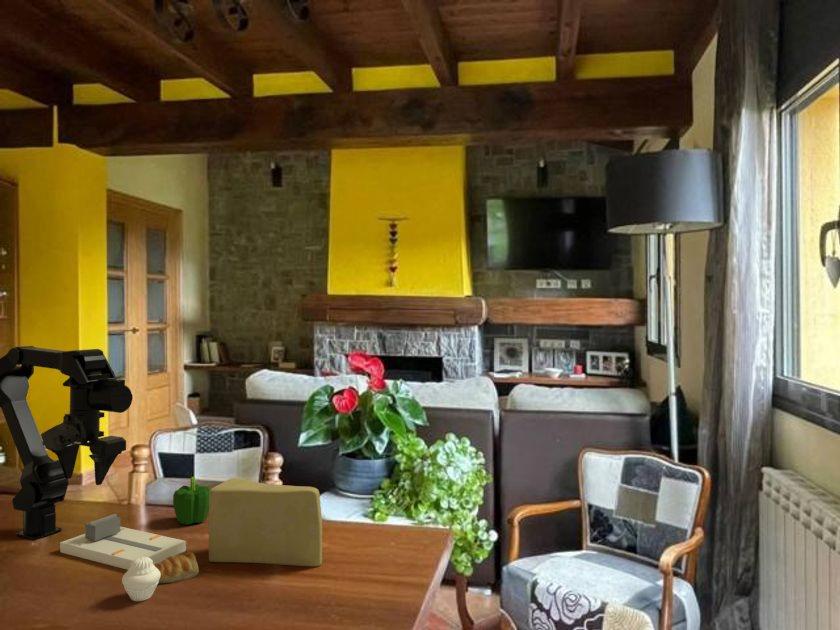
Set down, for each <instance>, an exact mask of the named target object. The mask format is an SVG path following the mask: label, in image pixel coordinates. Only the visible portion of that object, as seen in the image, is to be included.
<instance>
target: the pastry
mask: <svg viewBox="0 0 840 630" xmlns="http://www.w3.org/2000/svg"><path fill="white" fill-rule="evenodd" d="M196 558H197V557H196V555H195V554H194V553H193V552H189V551H188V552H187V551H186V553H185V554H177V555H175V556H170V557H168V558H167V559H165V560H163V561H162V562H160V563H156V564H154V566H155V567H156V568H157V569H158V570H159V571H160V573H161V577H160V579H159V583H158V584H171V583H175V582H179V581H184V580H189V579H192V578H195V577H197V576H198V574H199V571H200V570H199V565H198V562H197V559H196Z"/></svg>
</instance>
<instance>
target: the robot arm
mask: <svg viewBox="0 0 840 630" xmlns="http://www.w3.org/2000/svg"><path fill="white" fill-rule="evenodd" d="M35 367H37V368H38V367H39V368H45V369H53V370H58V371H59V373H61V374H62V375H64V376H67V377H68V379H66V380H65V381H64V382H62V386H63V387H67V388H69V412H68V413H64V416H62V417H63V418H62V419H63V421H62V422H61V423H59V424H56V425H54V426H53V427H51V428H49V429H48V430H45V431H43V432H42V433H41V434H40V432H39V429H38V427H37V423H36V421H35V419H34V416H33V414H32V411H31V409H30V406H29V404H28V401H27V396H28V393H29V389H30V384H29V380H30V378H31V377H32V376H33V375H34V373H35ZM132 403H133V393H132V390H131V389H130V387H128V386H127V385H126V380H125V379H123V378H121V379H120V378H118V379H117V376H116V374H115V372H114V370H113V368H112V367H111V364H110V362H109V361H108V359H107V357H106V356H105V354H104V351H103V350H102V349H100V348H92V349H90V348H89V349H77V350H76V349H75V350H61V349H59V350H58V349H52V348H43V347H35V346H34V345H25V346H23V345H22V346H15V347H12V348H10V349H9V350H8V352H7V353H6V354H5V355H3V356H2V357H0V409H1V411H2V414H3V415H4V416H3V417H4V419H5V421H6V423H7V424H6V425H7V427H8V429H9V432H10V435H11V436H12V437H11V438H12V440H13V442H14V444H15V447H16V451H17V453H18V455H19V458H20V460H21V464H22V467H23V468H22V471H21V475H20V479H19V483H20V486H21V489H20V490H18V492H17V493H16V495H14V497H13V498H12V500H11V502H12V507H13V510H15V511H21V512H22V519H23V520H22V525H23V526H22V530H20V531H18V532H16V533H15V534H16V536H18V537H22V538H25V539H26V538H27V539H29V540H30V539H31V540H37V539H41V538H44V537H47V536H50V535H53V534H56V533H59V532H62V531H63V528H62V527H60V526H59V527H58V526H57V513H56V504H57V503H60V502H61V503H62V502H64V501H65V498H66V493H67V491H68V487H69V480H70V479H72V477H73V473H74V470H75V466H76V462H77V457H78V453H79V449H80V446H83V447H88V448H89V452H90V453H91V454H88V457H89V458H90V459H91V460H92V461H93V464H94V465H93V466H94V481H95V485H96V486H100V485H102V484H103V482H104V480H105V478H106V476H107V474H108V473H109V470H110V469H111V467H112V465H113V464H114V462H115V460H116V459H117V457H118V456H119V455H121V454H122V452H126V451H127V440H126V439H125V438H124V437H122V436H117V435H108V436H105V431H104V430H101V429H100V427H101V426H100V424H101V423H100V421H101V418H105V412H109V413H110V412H111V413H119V414H122V413H124V412H126V411H127V410H129V408H130V407H131V404H132ZM47 450H48V451H51V452H52V453H53V454H55V455H56V457H57V459H56V460H54V459H53V458H51V457H50V456H49V454H48V452H47Z"/></svg>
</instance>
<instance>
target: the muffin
mask: <svg viewBox="0 0 840 630" xmlns="http://www.w3.org/2000/svg"><path fill="white" fill-rule="evenodd" d="M160 577H161V573H160V571H159V570H158V569H157V568H156V567H155V566H154V564H153V561H152V560H151V559H150V558H148V557H140V558H137V559H135V560H134V561H132V562H131V565H130V568H129V570H127V571H126V572H125V573H123V576H122V578H121V582H122V585H123V588H124V590H125V592H126V593H127V596H129V598H130V600H131V601H134V602H143V601H146V600H148V599H150V598H152V596H153V594H154V592H155V590H156V589H157V586H158V584H160V583H159V579H160Z"/></svg>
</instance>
